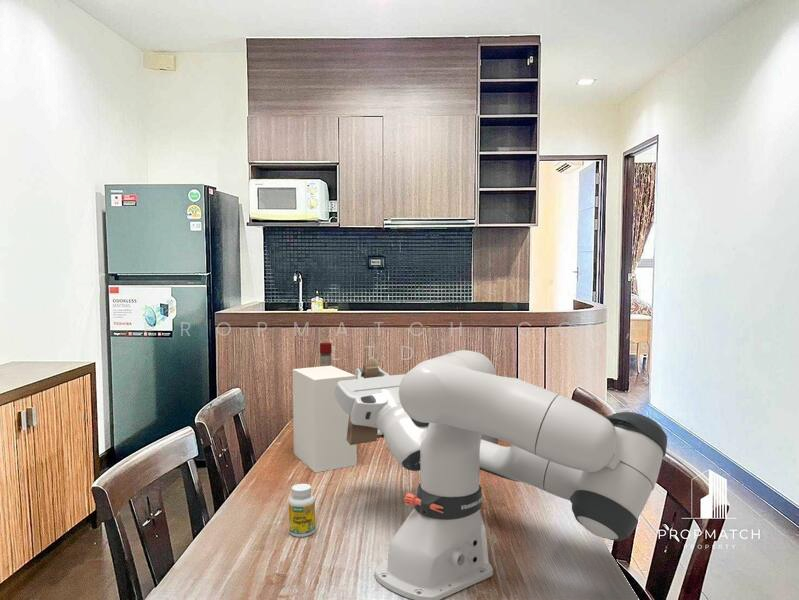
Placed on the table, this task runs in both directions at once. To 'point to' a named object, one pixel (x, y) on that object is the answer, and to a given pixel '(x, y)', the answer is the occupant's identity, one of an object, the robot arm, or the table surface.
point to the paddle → (359, 432)
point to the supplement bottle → (301, 511)
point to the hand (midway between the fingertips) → (366, 369)
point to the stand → (321, 419)
